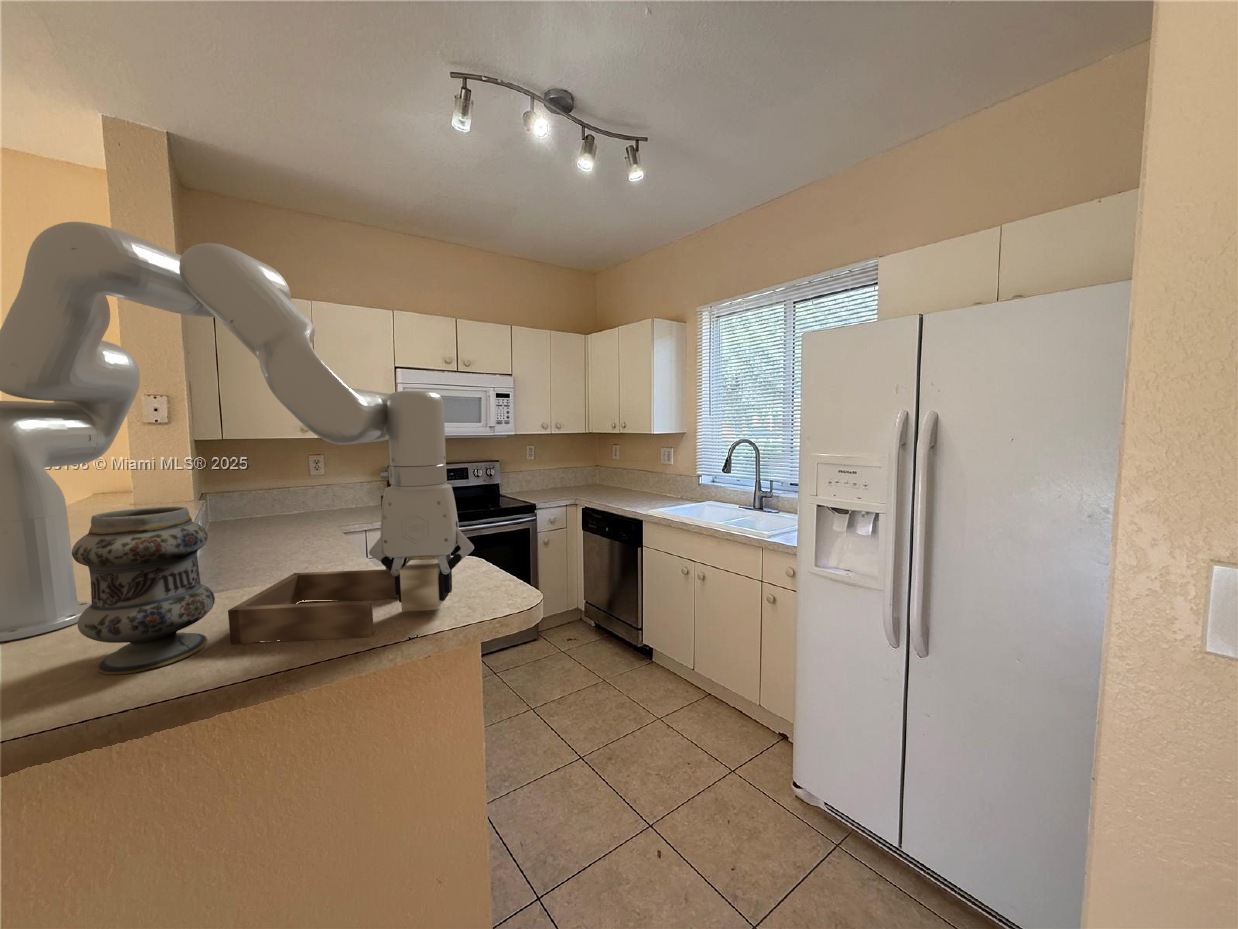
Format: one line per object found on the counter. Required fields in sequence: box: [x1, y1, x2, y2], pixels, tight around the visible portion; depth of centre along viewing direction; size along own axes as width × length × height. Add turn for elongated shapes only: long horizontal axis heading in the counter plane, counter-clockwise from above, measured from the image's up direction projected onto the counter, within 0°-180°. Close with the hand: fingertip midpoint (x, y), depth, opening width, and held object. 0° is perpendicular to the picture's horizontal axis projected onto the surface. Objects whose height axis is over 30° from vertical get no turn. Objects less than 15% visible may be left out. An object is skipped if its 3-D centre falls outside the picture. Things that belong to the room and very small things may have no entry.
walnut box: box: [227, 568, 399, 644], centre depth 71 cm, size 17×15×4 cm
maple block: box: [400, 559, 444, 612], centre depth 73 cm, size 5×5×6 cm
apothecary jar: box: [71, 505, 216, 676], centre depth 60 cm, size 12×12×18 cm
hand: (424, 597), depth 73 cm, fingers closed on maple block, 5 cm apart
